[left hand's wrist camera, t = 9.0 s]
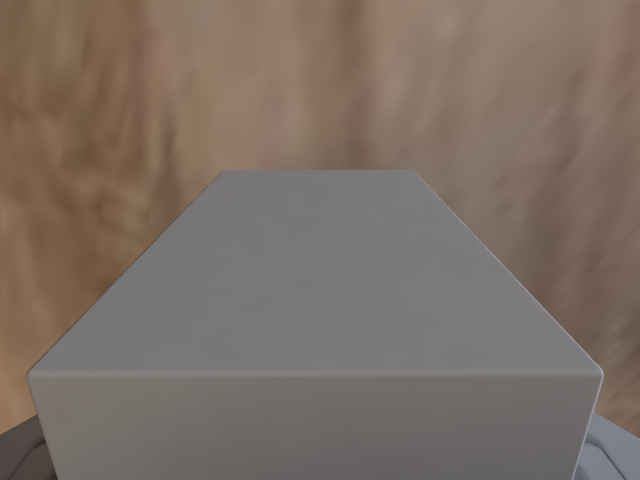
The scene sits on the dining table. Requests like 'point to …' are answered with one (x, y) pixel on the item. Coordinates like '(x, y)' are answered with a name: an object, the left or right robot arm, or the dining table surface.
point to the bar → (316, 347)
